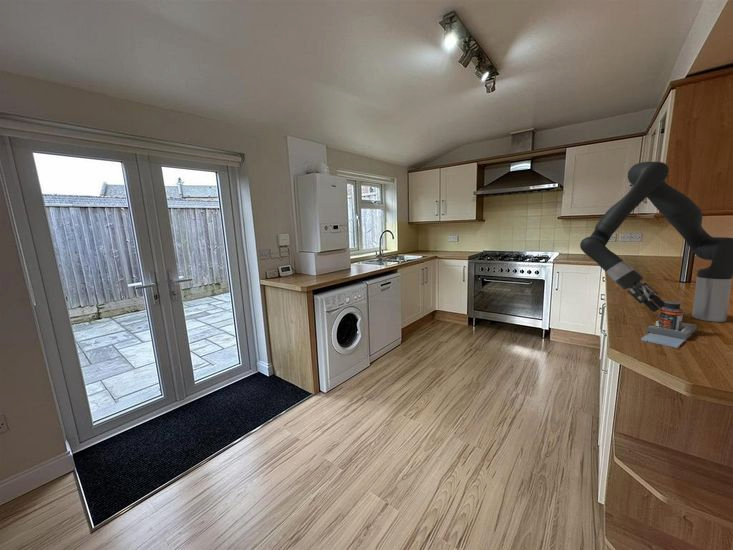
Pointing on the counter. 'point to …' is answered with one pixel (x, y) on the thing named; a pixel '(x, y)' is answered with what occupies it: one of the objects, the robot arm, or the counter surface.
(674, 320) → the supplement bottle
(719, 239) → the robot arm
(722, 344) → the counter surface
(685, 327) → the grey c-shaped bracket
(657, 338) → the coaster
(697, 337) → the counter surface
